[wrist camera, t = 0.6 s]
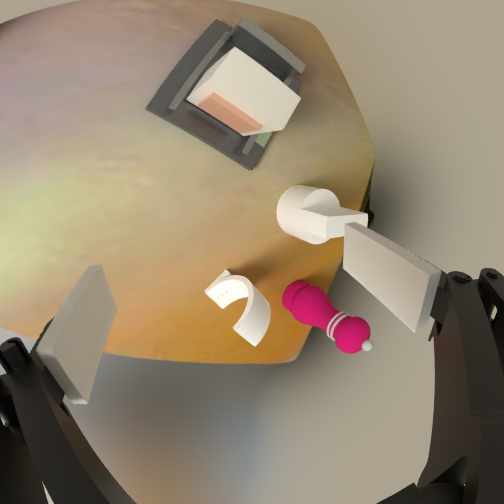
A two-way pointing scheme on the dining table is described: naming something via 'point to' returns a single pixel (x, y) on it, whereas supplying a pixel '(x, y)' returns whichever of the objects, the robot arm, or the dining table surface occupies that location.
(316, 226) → the base with upright slab
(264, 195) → the dining table surface
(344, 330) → the pepper mill
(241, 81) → the white block
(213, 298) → the headphone stand
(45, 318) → the dining table surface
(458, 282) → the robot arm
